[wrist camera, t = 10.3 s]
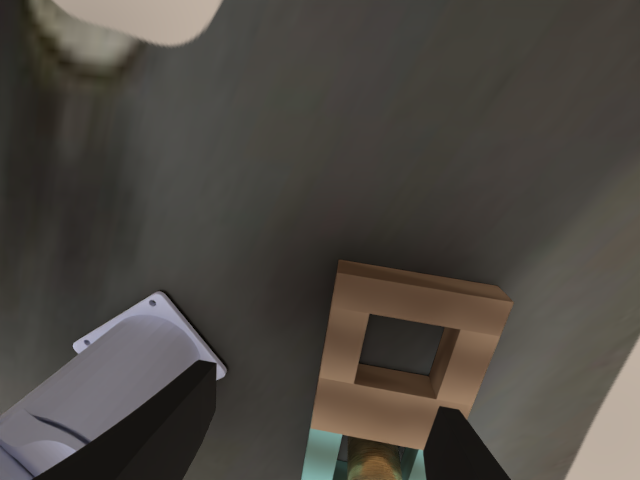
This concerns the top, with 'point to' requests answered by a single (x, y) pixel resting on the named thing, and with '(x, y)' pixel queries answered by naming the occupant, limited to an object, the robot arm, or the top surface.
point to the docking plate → (391, 385)
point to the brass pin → (372, 460)
